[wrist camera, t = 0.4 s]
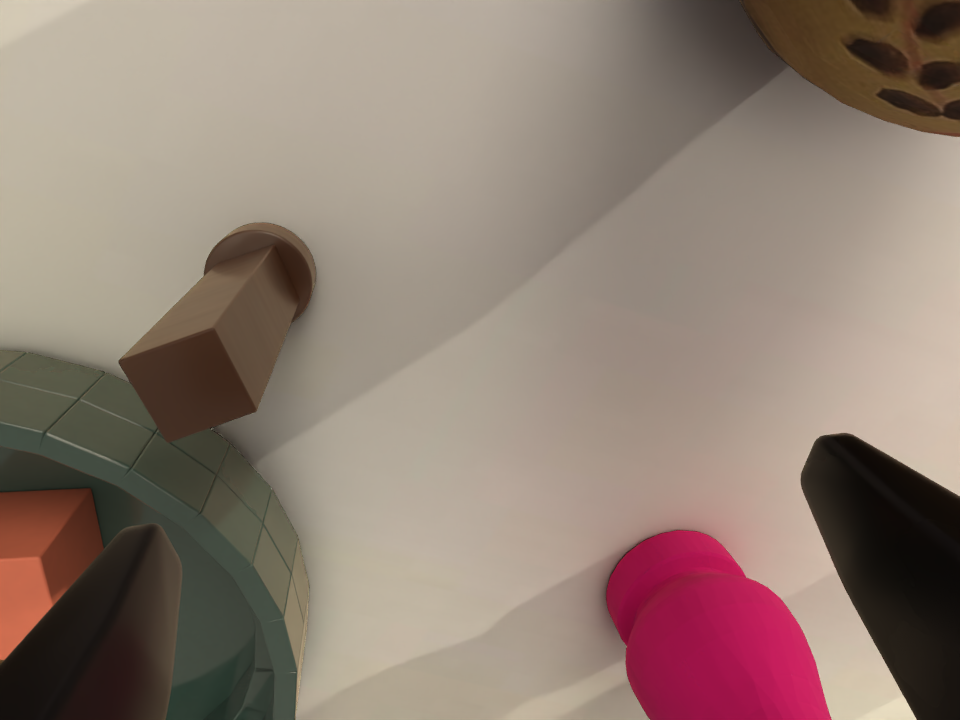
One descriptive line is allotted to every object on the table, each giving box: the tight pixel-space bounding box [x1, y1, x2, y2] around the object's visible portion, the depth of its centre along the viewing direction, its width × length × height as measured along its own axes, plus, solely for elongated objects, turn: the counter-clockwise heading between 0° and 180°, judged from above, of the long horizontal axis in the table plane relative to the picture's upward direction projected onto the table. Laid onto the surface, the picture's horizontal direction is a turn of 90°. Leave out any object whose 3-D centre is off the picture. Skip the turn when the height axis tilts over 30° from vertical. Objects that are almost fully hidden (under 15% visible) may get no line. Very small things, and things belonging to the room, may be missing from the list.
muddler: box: [119, 223, 316, 443], centre depth 17 cm, size 3×3×10 cm
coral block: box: [0, 488, 104, 660], centre depth 22 cm, size 4×4×4 cm
